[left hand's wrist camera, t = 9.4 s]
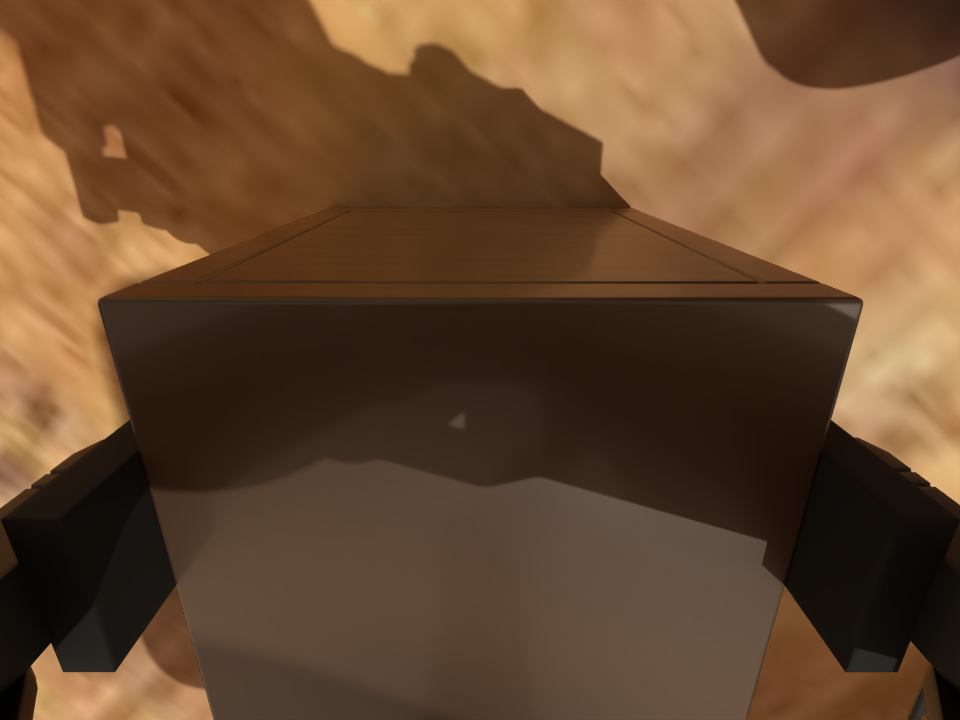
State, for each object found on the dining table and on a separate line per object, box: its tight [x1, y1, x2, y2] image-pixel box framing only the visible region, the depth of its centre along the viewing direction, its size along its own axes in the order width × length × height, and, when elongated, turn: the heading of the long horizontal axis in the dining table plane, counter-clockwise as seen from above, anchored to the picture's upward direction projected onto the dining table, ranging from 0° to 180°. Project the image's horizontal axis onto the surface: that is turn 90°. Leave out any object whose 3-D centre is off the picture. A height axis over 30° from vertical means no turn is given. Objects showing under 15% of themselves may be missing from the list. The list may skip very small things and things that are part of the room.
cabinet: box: [98, 208, 863, 720], centre depth 17 cm, size 22×11×12 cm, turn 0°
